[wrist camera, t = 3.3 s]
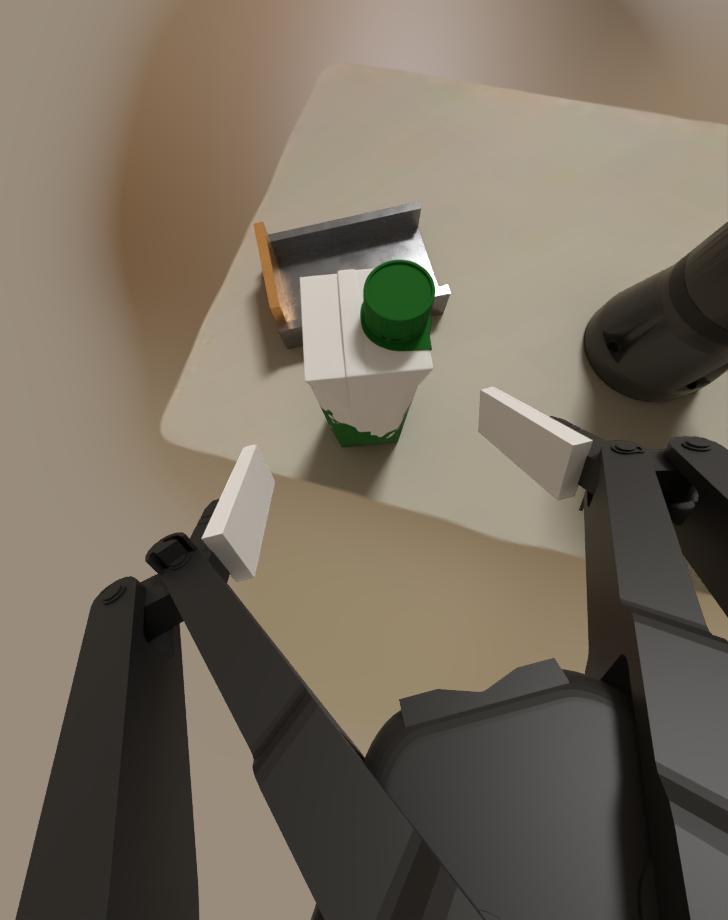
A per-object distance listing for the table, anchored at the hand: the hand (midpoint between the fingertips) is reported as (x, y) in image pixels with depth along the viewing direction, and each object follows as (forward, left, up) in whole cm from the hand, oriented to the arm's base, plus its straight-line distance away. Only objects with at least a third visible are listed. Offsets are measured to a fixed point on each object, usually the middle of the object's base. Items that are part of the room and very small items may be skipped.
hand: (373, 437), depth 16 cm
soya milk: (+5, -6, -18) cm, 19 cm away
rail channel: (+17, -22, -17) cm, 33 cm away
